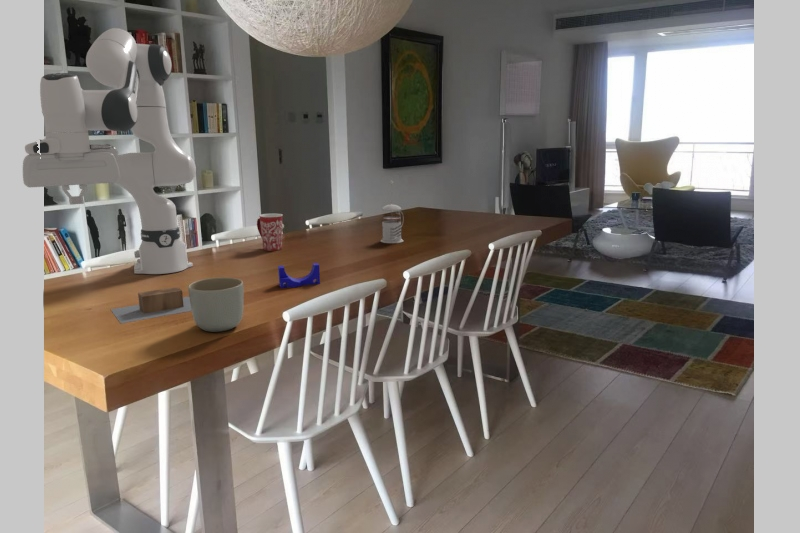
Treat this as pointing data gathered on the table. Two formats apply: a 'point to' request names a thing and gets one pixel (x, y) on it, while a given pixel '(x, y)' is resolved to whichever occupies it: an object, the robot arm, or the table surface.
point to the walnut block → (160, 300)
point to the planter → (216, 303)
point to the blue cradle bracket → (302, 281)
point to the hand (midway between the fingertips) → (76, 204)
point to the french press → (392, 224)
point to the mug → (270, 231)
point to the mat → (136, 314)
